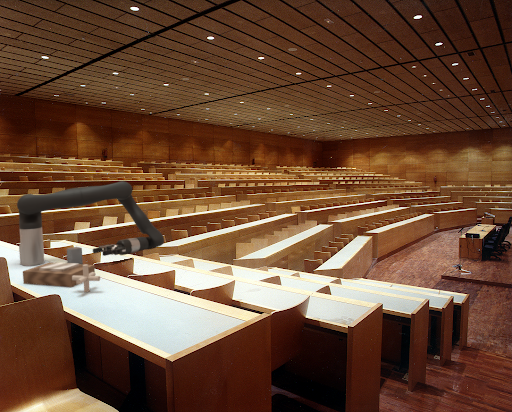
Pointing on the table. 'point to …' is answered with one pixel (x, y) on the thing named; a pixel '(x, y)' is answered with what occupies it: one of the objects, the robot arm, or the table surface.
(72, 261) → the block
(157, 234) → the robot arm
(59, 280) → the brown wooden block
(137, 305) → the table surface
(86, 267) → the pipe connector
